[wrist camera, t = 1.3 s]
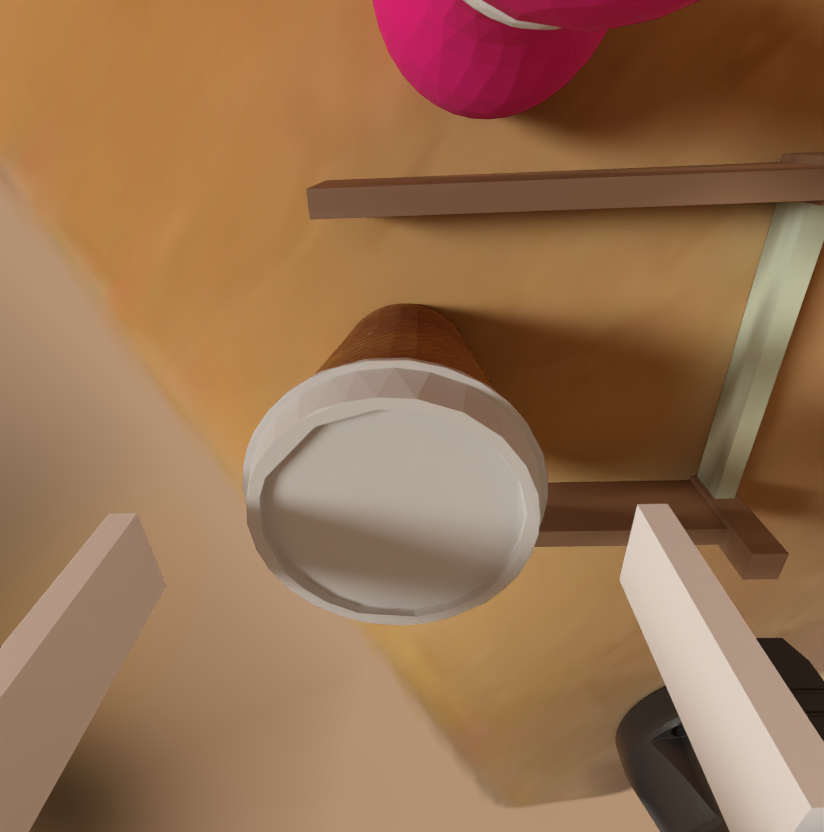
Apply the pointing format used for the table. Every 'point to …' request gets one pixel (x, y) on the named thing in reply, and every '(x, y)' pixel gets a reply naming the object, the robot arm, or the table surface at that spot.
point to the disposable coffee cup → (395, 477)
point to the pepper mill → (501, 46)
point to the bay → (752, 357)
